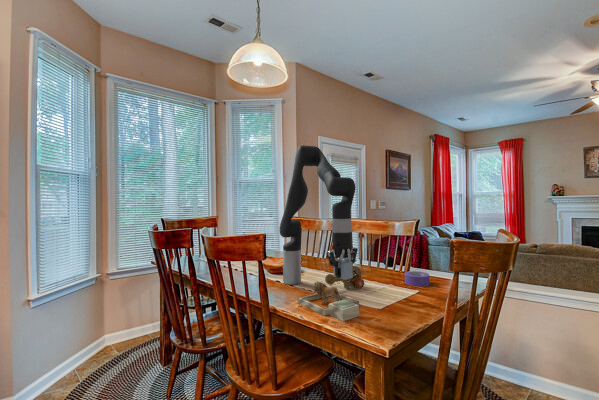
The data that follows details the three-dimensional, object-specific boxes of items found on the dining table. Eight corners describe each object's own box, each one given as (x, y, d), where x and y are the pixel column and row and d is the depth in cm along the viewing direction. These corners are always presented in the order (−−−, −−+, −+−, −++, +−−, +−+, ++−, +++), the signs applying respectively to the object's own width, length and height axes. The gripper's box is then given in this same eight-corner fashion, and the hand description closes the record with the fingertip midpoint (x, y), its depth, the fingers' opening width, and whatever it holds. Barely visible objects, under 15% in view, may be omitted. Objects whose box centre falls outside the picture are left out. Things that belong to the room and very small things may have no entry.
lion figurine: (313, 304, 126) (309, 283, 127) (320, 301, 130) (316, 280, 131) (342, 305, 117) (338, 281, 118) (349, 301, 121) (345, 278, 122)
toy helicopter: (366, 287, 147) (365, 259, 147) (331, 294, 137) (330, 264, 137) (355, 283, 154) (355, 257, 154) (321, 290, 144) (321, 261, 144)
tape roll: (433, 286, 147) (433, 276, 147) (409, 287, 147) (409, 276, 147) (424, 280, 159) (423, 270, 159) (401, 280, 159) (401, 271, 159)
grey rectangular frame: (297, 302, 127) (297, 292, 127) (330, 294, 137) (330, 285, 137) (338, 322, 105) (338, 310, 105) (374, 311, 115) (373, 300, 115)
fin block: (333, 276, 113) (333, 260, 113) (341, 274, 116) (341, 259, 116) (344, 279, 108) (344, 263, 108) (352, 277, 111) (352, 261, 111)
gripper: (349, 228, 119) (350, 271, 119) (320, 231, 111) (321, 277, 111) (362, 230, 113) (363, 275, 113) (334, 232, 105) (334, 281, 105)
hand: (342, 276), depth 112 cm, fingers closed on fin block, 4 cm apart
